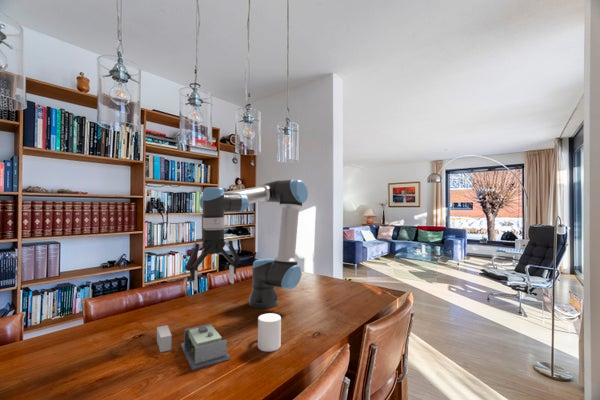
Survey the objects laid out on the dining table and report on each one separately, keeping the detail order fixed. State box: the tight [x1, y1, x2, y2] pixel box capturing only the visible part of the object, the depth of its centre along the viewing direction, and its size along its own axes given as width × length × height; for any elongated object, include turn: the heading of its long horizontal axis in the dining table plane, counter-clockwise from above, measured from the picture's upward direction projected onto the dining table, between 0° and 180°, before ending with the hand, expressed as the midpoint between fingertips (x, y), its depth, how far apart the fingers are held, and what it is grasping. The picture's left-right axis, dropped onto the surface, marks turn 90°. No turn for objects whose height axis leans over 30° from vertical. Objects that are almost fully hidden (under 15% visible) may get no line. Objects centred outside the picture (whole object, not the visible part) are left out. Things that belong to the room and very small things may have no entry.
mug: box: [257, 312, 282, 352], centre depth 104 cm, size 8×10×12 cm
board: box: [189, 325, 223, 347], centre depth 97 cm, size 12×8×3 cm, turn 33°
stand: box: [156, 324, 173, 353], centre depth 102 cm, size 10×4×5 cm, turn 33°
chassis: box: [180, 322, 231, 371], centre depth 97 cm, size 18×12×6 cm, turn 33°
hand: (214, 285), depth 105 cm, fingers open, 13 cm apart
